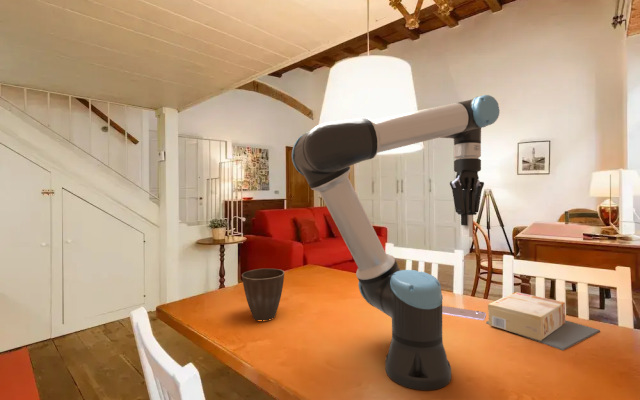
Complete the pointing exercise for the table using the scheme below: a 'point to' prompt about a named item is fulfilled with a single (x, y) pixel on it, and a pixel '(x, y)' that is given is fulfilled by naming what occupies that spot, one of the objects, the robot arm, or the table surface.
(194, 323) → the table surface
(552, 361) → the table surface
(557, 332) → the placemat
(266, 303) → the plant pot
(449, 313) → the mobile phone
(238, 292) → the table surface
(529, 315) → the coffeecake box
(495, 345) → the table surface
